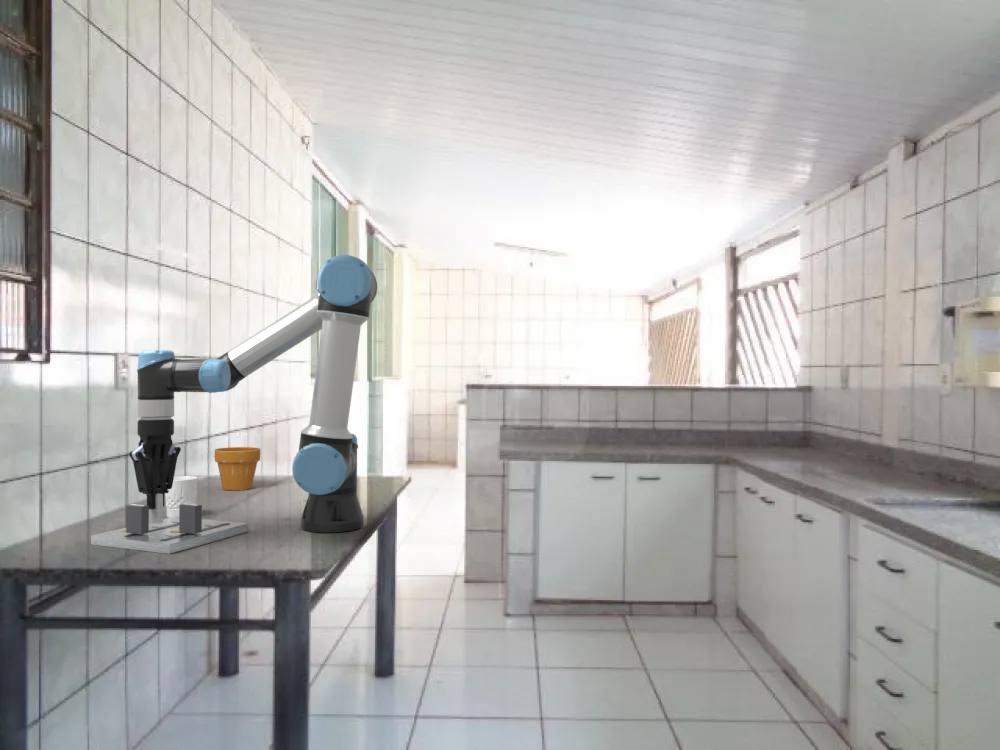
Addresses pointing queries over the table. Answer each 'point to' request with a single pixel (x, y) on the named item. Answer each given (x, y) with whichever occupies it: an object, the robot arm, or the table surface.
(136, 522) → the fader tab
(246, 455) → the flower pot
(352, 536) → the table surface
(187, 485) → the white cup
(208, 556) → the table surface
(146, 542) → the console
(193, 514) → the fader
